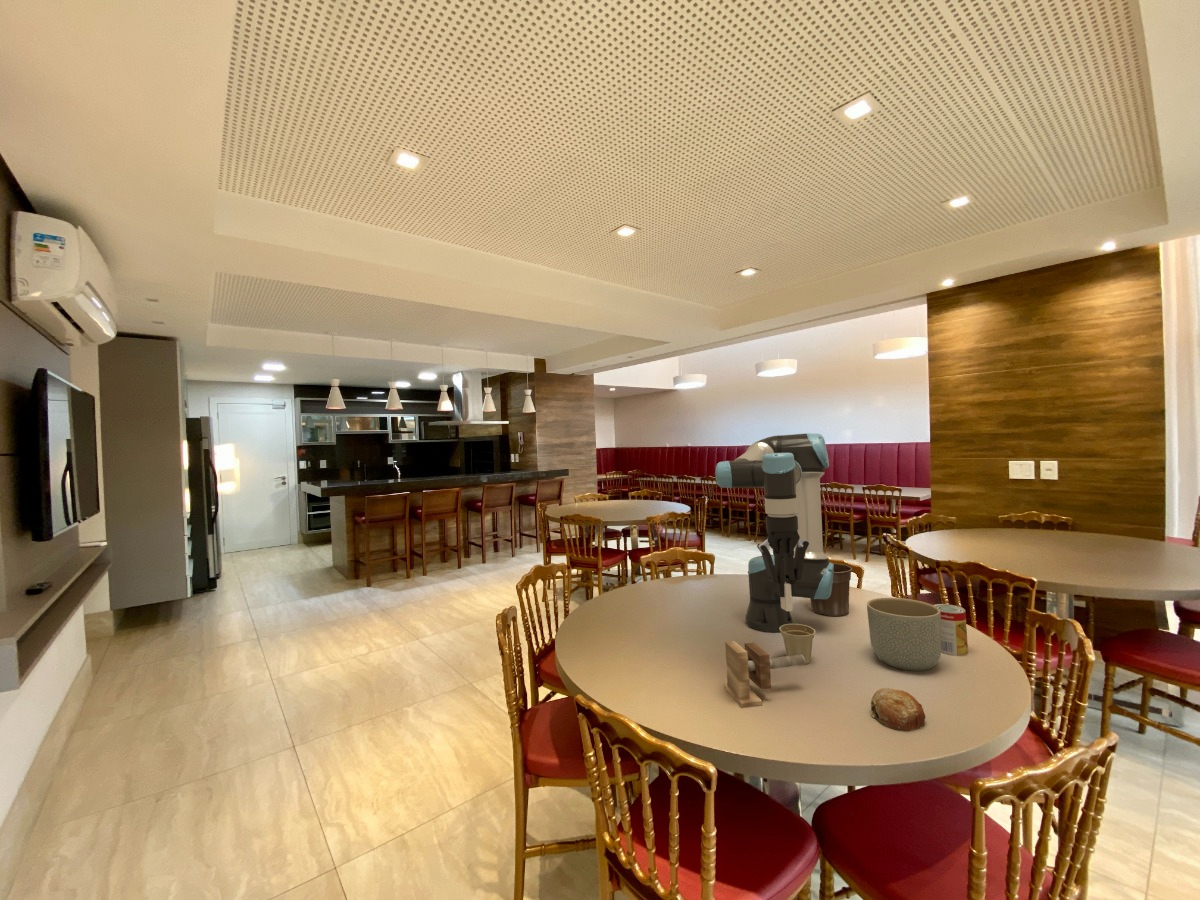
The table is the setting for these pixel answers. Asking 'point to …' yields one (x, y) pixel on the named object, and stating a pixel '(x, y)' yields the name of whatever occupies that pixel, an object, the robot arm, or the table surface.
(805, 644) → the flower pot
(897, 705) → the bread roll
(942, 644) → the canned food
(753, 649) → the collar
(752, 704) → the rail stand
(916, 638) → the planter
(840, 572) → the plant pot
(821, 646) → the table surface
